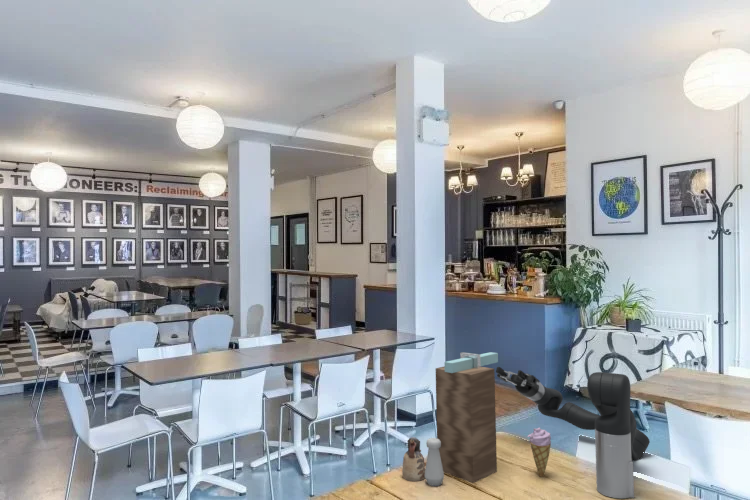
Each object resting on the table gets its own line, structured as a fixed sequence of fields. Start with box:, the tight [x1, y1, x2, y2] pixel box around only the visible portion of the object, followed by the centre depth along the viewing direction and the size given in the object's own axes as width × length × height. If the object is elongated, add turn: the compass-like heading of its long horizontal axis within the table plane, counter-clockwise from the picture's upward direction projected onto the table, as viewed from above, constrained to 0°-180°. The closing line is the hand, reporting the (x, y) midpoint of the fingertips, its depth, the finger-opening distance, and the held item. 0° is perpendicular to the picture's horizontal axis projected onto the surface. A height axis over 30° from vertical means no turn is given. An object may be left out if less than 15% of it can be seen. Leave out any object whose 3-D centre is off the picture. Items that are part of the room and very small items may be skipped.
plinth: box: [435, 365, 498, 484], centre depth 162 cm, size 14×12×32 cm
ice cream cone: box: [527, 427, 552, 478], centre depth 157 cm, size 7×6×15 cm
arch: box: [459, 351, 482, 369], centre depth 165 cm, size 7×2×4 cm, turn 42°
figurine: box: [401, 436, 426, 482], centre depth 158 cm, size 7×7×12 cm
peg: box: [443, 351, 499, 373], centre depth 166 cm, size 24×3×3 cm, turn 132°
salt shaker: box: [424, 437, 445, 487], centre depth 153 cm, size 6×6×13 cm
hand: (507, 371), depth 179 cm, fingers open, 8 cm apart
